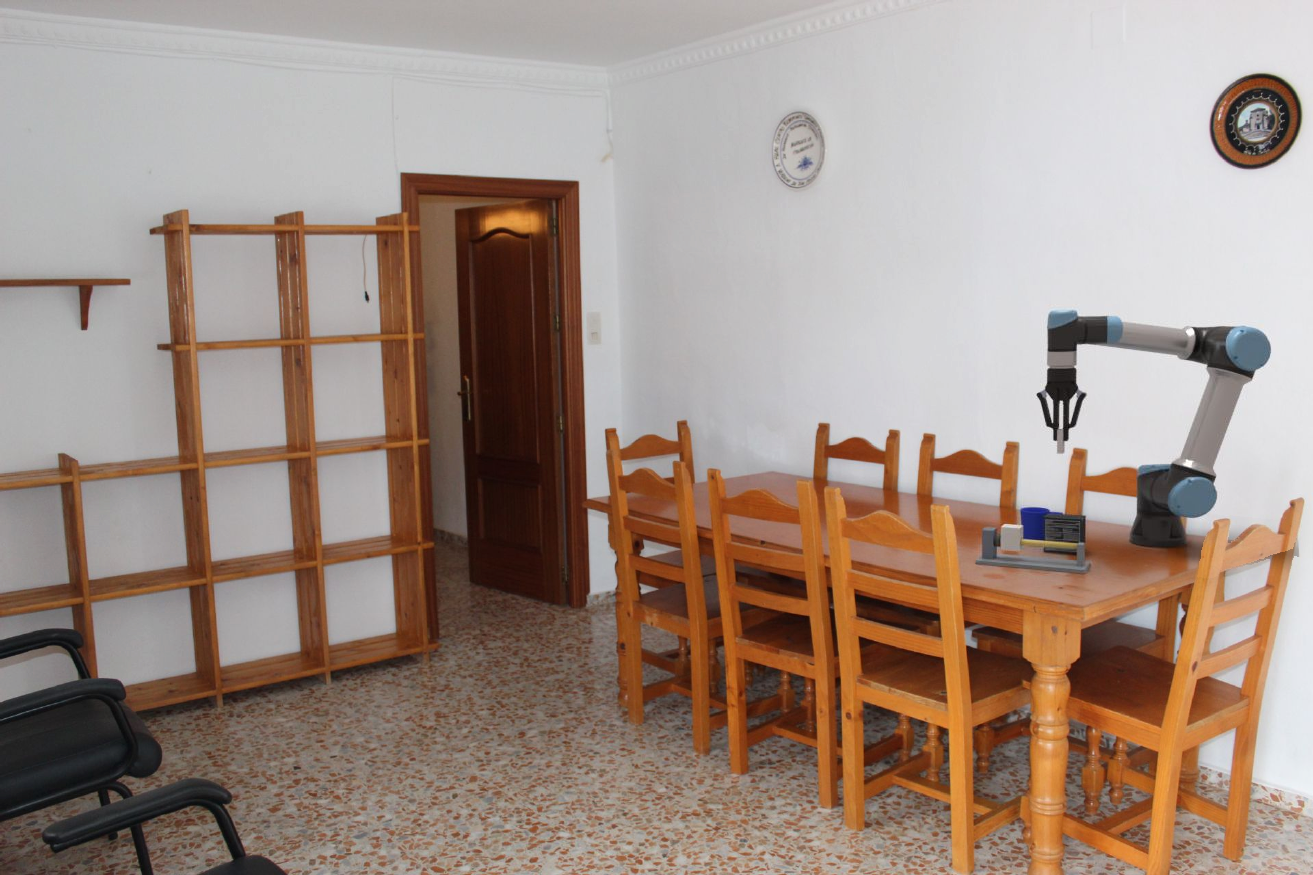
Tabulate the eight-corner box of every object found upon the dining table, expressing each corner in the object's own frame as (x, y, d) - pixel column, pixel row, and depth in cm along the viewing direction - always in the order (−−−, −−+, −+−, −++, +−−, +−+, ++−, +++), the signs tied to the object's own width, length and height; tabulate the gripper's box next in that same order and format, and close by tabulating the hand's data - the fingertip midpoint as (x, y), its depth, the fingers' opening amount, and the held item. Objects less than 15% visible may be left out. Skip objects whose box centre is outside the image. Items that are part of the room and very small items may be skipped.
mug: (1065, 546, 306) (1066, 512, 305) (1022, 545, 308) (1022, 512, 307) (1060, 540, 314) (1061, 507, 313) (1018, 539, 316) (1018, 506, 315)
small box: (1086, 550, 299) (1086, 514, 298) (1082, 555, 294) (1083, 518, 293) (1047, 547, 305) (1047, 512, 304) (1042, 552, 299) (1043, 516, 298)
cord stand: (1090, 565, 283) (1091, 532, 282) (1084, 573, 274) (1085, 539, 273) (984, 556, 297) (984, 524, 296) (975, 563, 289) (975, 531, 288)
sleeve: (1023, 548, 289) (1023, 525, 288) (1019, 551, 285) (1019, 528, 284) (1004, 546, 291) (1004, 523, 290) (1000, 549, 287) (1000, 527, 287)
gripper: (1089, 366, 286) (1088, 452, 289) (1039, 366, 293) (1038, 450, 296) (1085, 367, 280) (1083, 455, 283) (1034, 368, 286) (1033, 453, 289)
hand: (1060, 452), depth 289 cm, fingers closed
